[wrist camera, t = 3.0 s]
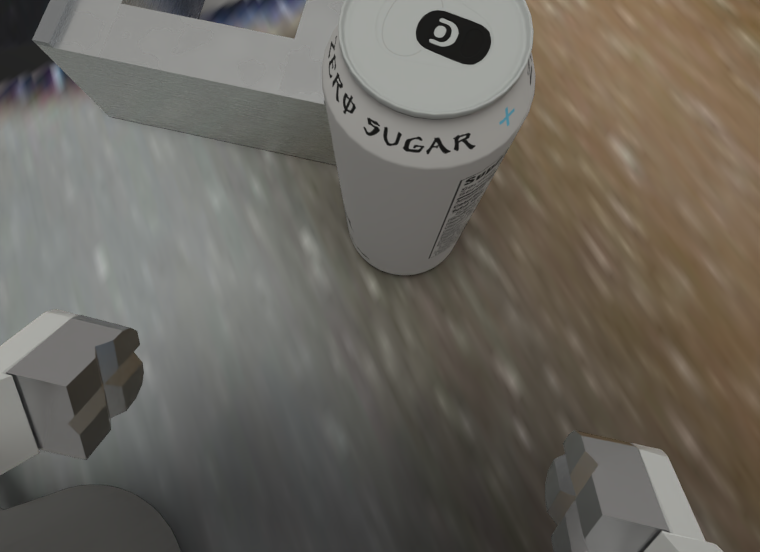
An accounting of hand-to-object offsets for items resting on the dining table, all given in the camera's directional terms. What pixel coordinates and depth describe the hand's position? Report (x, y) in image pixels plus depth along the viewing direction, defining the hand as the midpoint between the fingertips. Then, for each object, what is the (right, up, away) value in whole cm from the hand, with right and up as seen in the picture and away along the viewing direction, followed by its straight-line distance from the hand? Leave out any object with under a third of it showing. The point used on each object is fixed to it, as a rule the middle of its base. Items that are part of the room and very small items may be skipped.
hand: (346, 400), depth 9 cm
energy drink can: (+2, +5, +18) cm, 18 cm away
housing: (-7, +17, +20) cm, 27 cm away
